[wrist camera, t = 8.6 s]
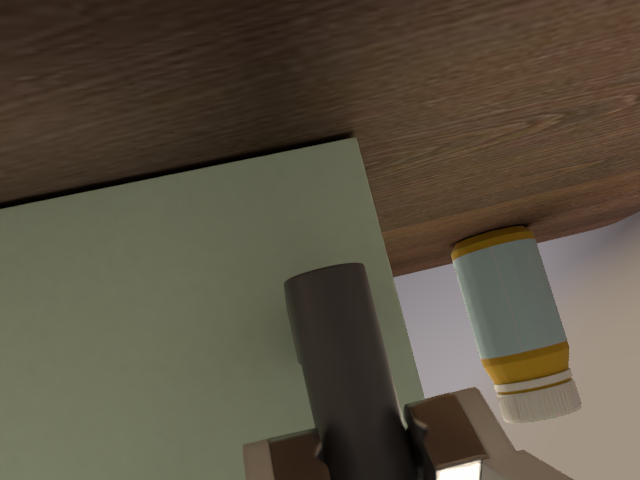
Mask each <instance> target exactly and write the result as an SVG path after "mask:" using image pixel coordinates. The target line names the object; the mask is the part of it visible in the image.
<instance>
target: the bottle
mask: <svg viewBox="0 0 640 480" xmlns="http://www.w3.org/2000/svg"><path fill="white" fill-rule="evenodd" d="M451 256H452V260H453V264H454V268H455V271H456V275H457V278H458V282H459V285H460V289H461V293H462V296H463V299H464V303H465V306H466V310H467V313H468V317H469V321H470V324H471V328H472V331H473V335H474V338H475V342H476V345H477V349H478V352H479V356H480V359H481V361H482V364H483V367H484V368H485V370H486V371H487V373H488V374H489V376H490V377H491V379H492V380H493V382H494V388H495V391H496V392H498V393H497V400H498V403H499V406H500V410H501V413H502V417H503V419H504V421H505V422H507V423H526V422H535V421H541V420H546V419H551V418H556V417H559V416H563V415H567V414H570V413H572V412H575V411H577V410H579V409H580V408H581V401H580V397H579V394H578V391H577V388H576V385H575V382H574V381H573V379H572V378H571V376H572V373H571V370H570V368H568V361H569V345H568V342H567V338H566V335H565V332H564V328H563V325H562V322H561V319H560V316H559V313H558V309H557V306H556V303H555V300H554V297H553V294H552V291H551V287H550V284H549V281H548V278H547V275H546V272H545V269H544V265H543V262H542V259H541V256H540V253H539V250H538V247H537V243H536V240H535V238H534V235H533V232H532V231H530V230H529V229H527V228H526V227H524V226H514V227H507V228H503V229H498V230H495V231H490V232H486V233H484V234H480V235H476V236H474V237H471V238H468V239H466V240H464V241H461V242H459V243H458V244H456V245H455V247H454V249H453V251H452V254H451Z"/></svg>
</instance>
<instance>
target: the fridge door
mask: <svg viewBox="0 0 640 480" xmlns="http://www.w3.org/2000/svg"><path fill="white" fill-rule="evenodd" d="M423 399H425V398H424V394H423V390H422V386H421V383H420V379H419V375H418V371H417V368H416V363H415V360H414V356H413V352H412V348H411V345H410V341H409V337H408V333H407V329H406V325H405V321H404V318H403V314H402V310H401V306H400V302H399V299H398V295H397V291H396V287H395V283H394V280H393V275H392V272H391V268H390V264H389V260H388V256H387V252H386V249H385V245H384V241H383V237H382V233H381V229H380V226H379V222H378V218H377V214H376V210H375V206H374V203H373V199H372V195H371V191H370V187H369V183H368V180H367V176H366V172H365V168H364V164H363V160H362V157H361V153H360V149H359V145H358V141H357V138H356V137H354V138H349V139H344V140H339V141H334V142H329V143H324V144H319V145H314V146H309V147H304V148H299V149H294V150H289V151H284V152H280V153H275V154H270V155H265V156H260V157H255V158H250V159H245V160H240V161H235V162H230V163H225V164H220V165H215V166H210V167H205V168H200V169H196V170H191V171H186V172H181V173H176V174H171V175H166V176H161V177H156V178H151V179H146V180H141V181H136V182H131V183H126V184H121V185H116V186H111V187H107V188H102V189H97V190H92V191H87V192H82V193H77V194H72V195H67V196H62V197H57V198H52V199H47V200H42V201H37V202H32V203H27V204H22V205H18V206H13V207H8V208H3V209H0V480H246V479H245V470H244V461H243V444H248V443H252V442H256V441H260V440H264V439H269V438H273V437H277V436H282V435H286V434H290V433H295V432H299V431H304V430H308V429H313V428H318V432H319V436H320V439H321V443H322V448H323V453H324V459H325V464H326V465H327V466H328V470H329V474H330V478H331V480H419V479H418V476H417V472H416V469H415V465H414V461H413V457H412V453H411V449H410V445H409V441H408V437H407V433H406V429H407V427H408V426H407V423H406V421H405V419H404V405H405V404H408V403H412V402H416V401H419V400H423Z"/></svg>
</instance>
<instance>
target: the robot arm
mask: <svg viewBox="0 0 640 480" xmlns="http://www.w3.org/2000/svg"><path fill="white" fill-rule="evenodd" d="M404 419H405V421H406V423H407V426H408V427H407V429H406V433H407V437H408V441H409V445H410V449H411V453H412V457H413V461H414V465H415V469H416V472H417V476H418V479H419V480H573V479H572V478H570V477H568V476H567V475H565V474H563V473H562V472H560V471H558V470H556V469H555V468H553V467H551V466H550V465H548V464H547V463H545V462H543V461H542V460H540V459H538V458H537V457H535V456H533V455H531V454H529V453H528V452H526V451H525V450H520V451H516V450H515V448H514V447H513V445H512V443H511V442H510V440H509V438H508V437H507V435H506V433H505V432H504V430H503V428H502V427H501V425H500V423H499V422H498V420H497V419H496V417H495V415H494V414H493V412H492V410H491V409H490V407H489V405H488V404H487V402H486V401H485V399H484V397H483V395H482V394H481V392H480V391H479V390H478V389H477V388H476V387H471V388H467V389H464V390H460V391H456V392H452V393H446V394H442V395H438V396H435V397H431V398H427V399H423V400H419V401H416V402H412V403H408V404H405V405H404ZM243 461H244V470H245V479H246V480H331V478H330V474H329V470H328V466H327V465H326V464H325V459H324V453H323V448H322V443H321V439H320V436H319V432H318V428H313V429H308V430H304V431H299V432H295V433H290V434H286V435H282V436H277V437H273V438H269V439H264V440H260V441H256V442H252V443H248V444H243Z"/></svg>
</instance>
